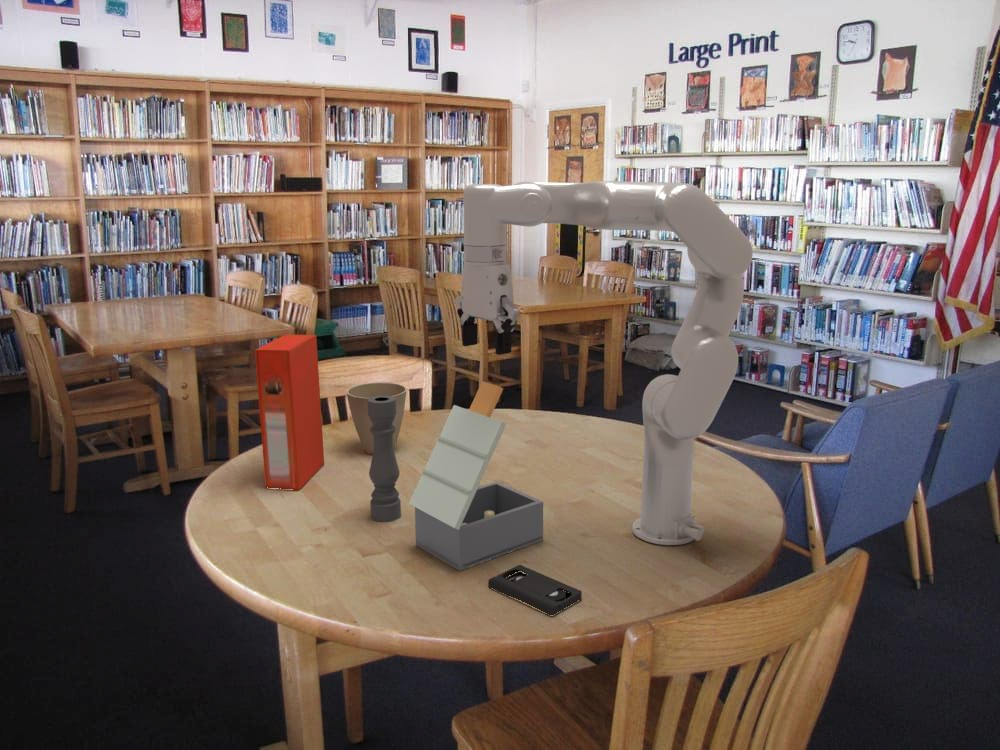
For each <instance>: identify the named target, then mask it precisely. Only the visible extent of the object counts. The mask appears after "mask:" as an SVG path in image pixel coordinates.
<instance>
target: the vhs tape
mask: <svg viewBox="0 0 1000 750" xmlns="http://www.w3.org/2000/svg"><path fill="white" fill-rule="evenodd" d="M518 571H522V572H524V573H526V574H528V575H522V576H520V575H516V576H514V577H512V578H511V579H509V578H507V579H506V577H508V576H509V575H512V574H514V573H515V572H518ZM487 586H488V587H491V588H493V589H495V590H497V591H499V592H501V593H504V594H506V595H508V596H511V597H513V598H516V599H518V600H521V601H522V602H525V603H527V604H529V605H531V606H533V607H535V608H537V609H539V610H541V611H543V612H545V613H547V614H549V615H554V614H556V613H557V612H559V611H561V610H563V609H564V608H566V607H568V606H570V605H571V604H573V603H575V602H577V601H578V600H580V599H581V600H582V590H580V589H577V588H575V587H573V586H572V585H571V586H570V585H568V584H566V583H563V582H561V581H559V580H557V579H554V578H552V577H550V576H547V575H544V574H542V573H540V572H538V571H536V570H533V569H531V568H528V567H526V566H524V565H521V564H518V565H516V566H513V567H512V568H510V569H508V570H506V571H503V572H502V573H499V574H498V575H496V576H493V577H491V578H488V584H487ZM493 589H492V590H493ZM495 590H494V591H495ZM563 590H564V591H566V592H569V593H571V594H572V595H571V594H570V596H569V597H567V598H566V592H564V591H563ZM497 591H496V592H497ZM499 592H498V593H499ZM501 593H500V594H501ZM569 593H568V594H569ZM508 596H507V597H508ZM577 603H578V602H577ZM575 604H576V603H575ZM570 607H571V606H570ZM563 611H564V610H563ZM556 615H557V614H556Z"/></svg>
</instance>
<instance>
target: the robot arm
mask: <svg viewBox="0 0 1000 750" xmlns="http://www.w3.org/2000/svg"><path fill="white" fill-rule="evenodd" d="M462 193H463V195H462V197H463V198H462V201H463V203H462V204H463V255H464V256H463V258H464V260H463V266H462V267H463V268H462V275H461V276H462V277H461V290H460V291H461V294H460V295H458V296H457V297H456V298H455V299H454V303H455V307H456V310H457V311H456V313H457V316H458V317H459V323H460V325H461V327H462V328H461V337H462V339H461V340H462V346H463V347H469V346H470V347H471V346H476V345H477V344H478V343H479V339H478V337H479V336H478V335H479V334H478V332H479V331H478V329H479V328H478V322H476V321H477V319H480V320H485V321H492V322H493V324H494V326H495V328H496V331H497V332H495V335H494V337H495V339H494V343H495V349H494V350H495V351H494V352H495V354H496V355H497V356H501V355H506V354H511V353H512V332H513V331H514V330H515V329H514V328H515V326H516V325H517V322H518V318H519V317H520V316H519V315H520V312H521V310H520V309H519V308H518V306H517V305H515V301H514V287H513V286H514V285H513V279H512V273H511V272H512V271H511V268H510V264H509V263H507V255H508V254H507V225H511V226H512V225H513V226H520V227H528V228H530V227H532V228H533V227H536V226H539V225H541V224H558V225H559V224H561V225H563V224H564V225H574V226H579V227H580V226H581V227H586V228H589V229H595V230H603V231H604V230H605V231H608V230H609V231H665V232H666V231H668V232H673V233H674V234H675V235H676V236H677V237H678V239H680V241H681V242H682V243H683V245H685V246H686V248H687V249H686V250H687V251H686V252H687V257H688V260H689V262H690V264H691V265H692V266H693V268H694V270H695V274H696V279H697V288H696V291H695V295H694V298H693V300H692V303H691V306H690V308H689V310H688V311H687V314H686V316H685V318H684V320H683V322H682V324H681V326H680V329H679V330H678V331H677V334H676V336H675V338H674V340H673V342H672V346H671V351H670V353H671V354H670V355H671V358H672V361H673V363H674V364H675V365H676V367H678V368H679V369H680V371H679V373H678V375H675V374H669V373H667V374H661V375H657V377H654V379H652V380H651V381H650V382H649V384H647V386H646V388H645V389H644V391H643V395H642V403H641V404H642V421H643V422H642V423H643V456H642V473H641V475H642V476H641V477H642V478H641V479H642V480H641V497H640V498H641V500H640V501H641V503H640V517H638V518H637V519H635V520H634V521H633V522H632V528H631V530H632V532H633V534H634V535H635V536H636V537H637V538H638V539H641V540H642V541H645V542H648V543H651V544H655V545H661V546H679V545H685V544H689V543H691V542H693V541H694V540H695V541H697V542H698V541H700V540H702V538H703V534H704V533H705V526H702V525H699V524H697V523H696V522H695V519H696V515H695V514H692V513H691V509H692V508H691V505H692V494H693V493H692V489H693V471H694V470H693V469H694V459H695V439H696V438H698V437H700V436H702V435H703V434H704V433H705V432H706V431H707V430H708V428H709V427H710V426H711V424H712V423H713V421H714V419H715V417H716V415H717V413H718V411H719V409H720V408H721V405H722V403H723V402H724V399H725V397H726V395H727V393H728V392H729V390H730V387H731V385H732V383H733V381H734V379H735V376H736V374H737V371H738V365H739V353H738V349H737V346H736V345H735V343H734V342H733V341H732V339H730V337H729V336H730V334H731V332H732V330H733V327H734V326H735V325H734V324H735V322H736V320H737V317H738V316H739V313H740V310H741V307H742V304H743V302H744V301H743V300H744V295H745V294H744V293H745V282H744V281H745V280H744V276H743V274H745V272H747V270H748V269H749V268H750V266H751V264H752V261H753V253H754V252H753V248H752V244H751V241H750V240H749V238H748V237H747V235H745V234H744V232H743V231H742V230H741V229H740V227H738V226H737V225H736V224H735V223H734V222H733V220H731V219H730V218H729V217H728V215H727V214H726V213H725V212H724V211H723V210H722V209H721V208H720V207H719V206H718V205H717V204H716V202H715V201H713V200H712V198H711V197H710V196H708V194H707V193H706V192H705V191H704V190H702V189H701V188H699V186H697V185H694V184H691V183H686V182H682V183H681V182H663V181H662V182H660V181H658V182H657V181H656V182H655V181H653V182H652V181H619V180H601V181H600V180H598V181H587V182H541V181H540V182H538V181H537V182H535V181H521V182H516V183H514V184H512V185H511V184H510V185H501V184H497V183H472V184H469V185H467V186H466V187H465V188H464V190H463V192H462ZM502 321H503V323H502Z"/></svg>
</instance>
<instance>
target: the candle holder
mask: <svg viewBox="0 0 1000 750" xmlns="http://www.w3.org/2000/svg"><path fill="white" fill-rule="evenodd" d="M367 403H368V416H369V417H370V420H371V422H372V424H373V426H372V427H371V428H370V432H371V433H372V434H373V439H374V451H373V454H372V457H371V462H370V467H369V471H368V472H369V473H368V475H369V478H370V480H371V482H372V483H373V486H374V490H373V491H372V493H371V495H370V496H371V500H370V501H369V506H370V508H369V509H370V518H371V519H372V520H373V521H376V522H378V523H381V522H383V523H387V522H392V521H396V520H398V519H400V518H401V516H402V506H401V505H402V504H401V503H402V502H401V499H400V493H399V490H397V488H396V484H397V482H398V479H399V476H400V469H399V465H398V461H397V458H396V454H395V451H394V450H393V434H394V432H395V431H396V428H395V426H394V425H392V423H393V421H394V419H395V415H396V414H397V413H396V398H395V397H392V396H374V397H370V398H368V400H367Z"/></svg>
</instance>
